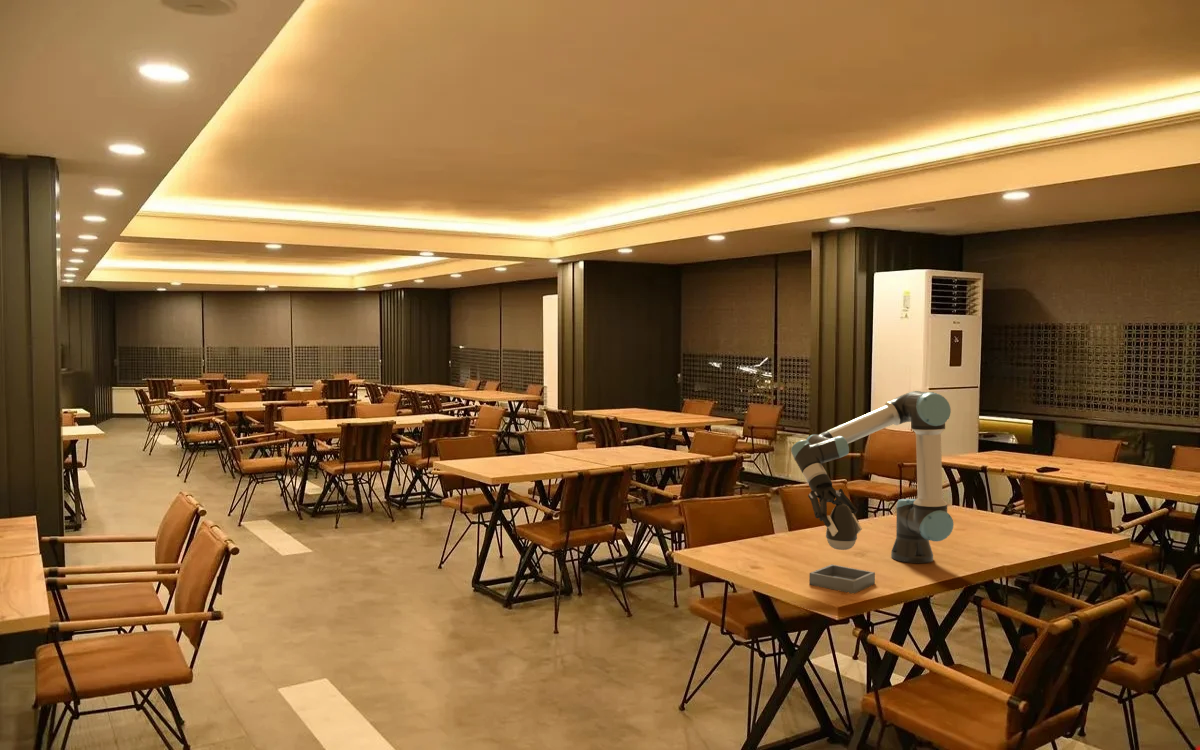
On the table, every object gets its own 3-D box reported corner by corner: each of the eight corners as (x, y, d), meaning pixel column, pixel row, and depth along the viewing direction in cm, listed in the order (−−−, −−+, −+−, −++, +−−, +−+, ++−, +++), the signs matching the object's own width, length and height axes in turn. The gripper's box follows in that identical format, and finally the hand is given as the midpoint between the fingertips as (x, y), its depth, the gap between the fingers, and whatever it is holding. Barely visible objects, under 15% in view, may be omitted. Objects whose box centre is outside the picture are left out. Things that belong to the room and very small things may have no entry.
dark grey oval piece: (850, 544, 295) (851, 501, 294) (861, 551, 284) (861, 506, 284) (821, 544, 294) (822, 501, 294) (830, 551, 284) (831, 506, 284)
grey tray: (831, 575, 301) (831, 564, 301) (874, 584, 290) (874, 572, 290) (809, 584, 289) (809, 572, 289) (853, 593, 278) (853, 581, 278)
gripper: (837, 483, 307) (867, 536, 293) (787, 487, 298) (815, 541, 284) (847, 471, 302) (878, 523, 288) (797, 474, 293) (826, 528, 279)
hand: (847, 532), depth 286 cm, fingers closed on dark grey oval piece, 9 cm apart
